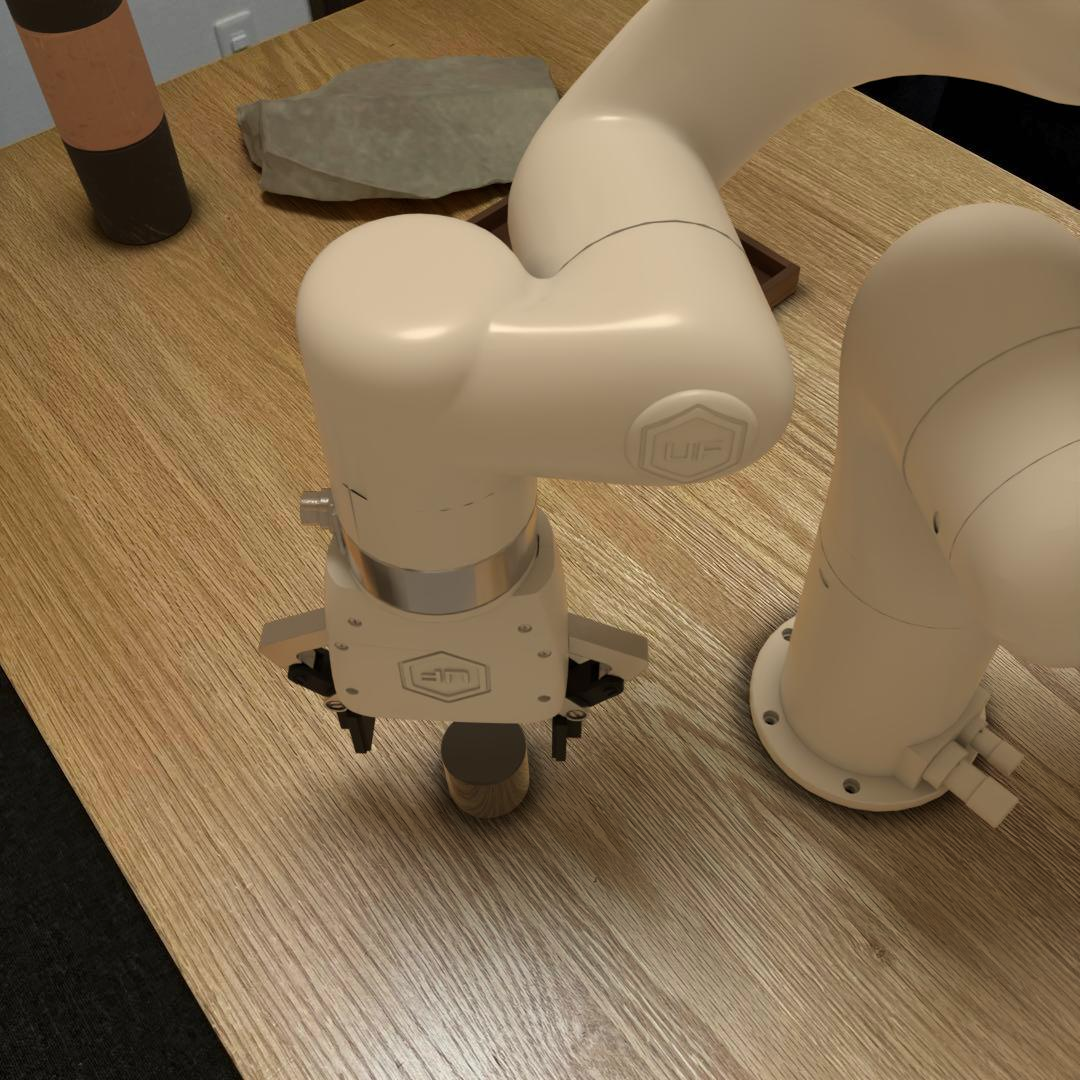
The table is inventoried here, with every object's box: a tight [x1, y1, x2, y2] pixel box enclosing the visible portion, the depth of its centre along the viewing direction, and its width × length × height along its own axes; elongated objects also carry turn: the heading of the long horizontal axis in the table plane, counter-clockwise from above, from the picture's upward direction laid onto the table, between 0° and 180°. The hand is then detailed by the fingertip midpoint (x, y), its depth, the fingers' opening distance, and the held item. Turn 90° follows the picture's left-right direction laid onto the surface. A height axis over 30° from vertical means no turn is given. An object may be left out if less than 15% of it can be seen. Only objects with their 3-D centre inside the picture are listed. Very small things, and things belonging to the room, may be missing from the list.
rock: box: [235, 54, 561, 202], centre depth 96 cm, size 27×6×20 cm
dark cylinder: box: [440, 722, 531, 819], centre depth 63 cm, size 4×4×4 cm
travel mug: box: [4, 0, 192, 245], centre depth 86 cm, size 8×8×20 cm
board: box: [466, 194, 801, 310], centre depth 86 cm, size 21×21×2 cm
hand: (463, 731), depth 59 cm, fingers open, 9 cm apart
